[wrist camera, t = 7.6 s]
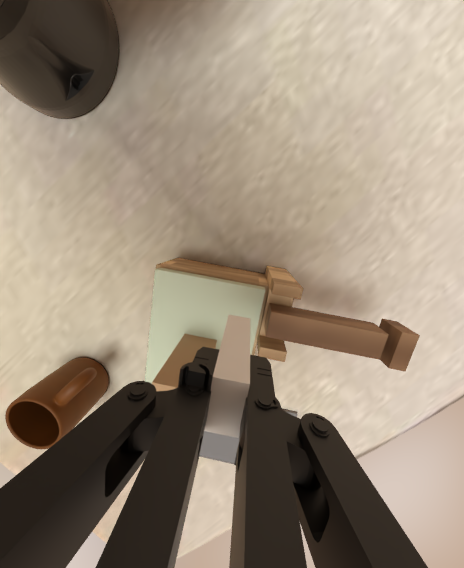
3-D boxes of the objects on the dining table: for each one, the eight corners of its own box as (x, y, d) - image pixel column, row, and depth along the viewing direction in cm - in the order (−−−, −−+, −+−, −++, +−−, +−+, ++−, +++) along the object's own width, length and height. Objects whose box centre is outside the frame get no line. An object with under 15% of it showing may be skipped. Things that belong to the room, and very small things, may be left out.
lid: (163, 265, 25) (103, 288, 15) (264, 285, 24) (272, 321, 14) (150, 399, 29) (96, 487, 19) (235, 418, 28) (226, 519, 18)
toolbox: (178, 249, 30) (141, 258, 20) (285, 269, 30) (303, 288, 19) (164, 372, 35) (128, 430, 25) (257, 392, 34) (259, 460, 24)
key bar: (270, 297, 22) (272, 307, 19) (397, 321, 21) (419, 335, 19) (263, 329, 23) (264, 343, 20) (385, 353, 22) (405, 371, 19)
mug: (102, 329, 34) (46, 364, 25) (138, 364, 35) (97, 410, 26) (57, 373, 37) (-8, 420, 28) (91, 405, 37) (39, 460, 28)
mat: (169, 384, 35) (168, 386, 35) (296, 412, 34) (297, 414, 34) (162, 445, 38) (161, 447, 38) (279, 472, 37) (279, 474, 37)
